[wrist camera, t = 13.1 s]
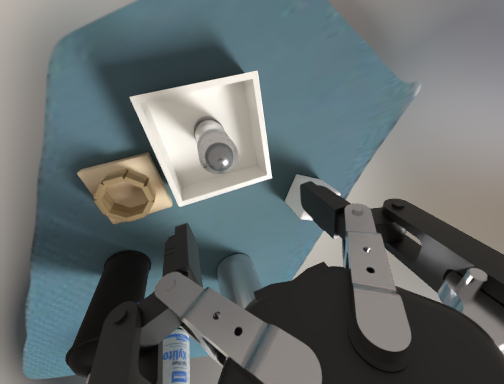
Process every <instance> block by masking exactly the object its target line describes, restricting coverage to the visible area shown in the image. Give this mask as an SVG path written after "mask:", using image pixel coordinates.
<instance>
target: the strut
mask: <svg viewBox="0 0 504 384" xmlns="http://www.w3.org/2000/svg"><path fill="white" fill-rule="evenodd" d="M194 136H195V140H196V144H197V149H198V155H199V161H200V163H201V165H202V167H203V168H204V169H205V170H206V171H208V172H210V173H212V174H224V173H227V172H229V171H230V170H232V169H233V168H234V166H235V165H236V163H237V160H238V150H237V147H236V146H235V144H234V143H233V141H232V140H231V139H230V137H229V136H228V135H227V133H226V132H225V130H224V128H223V127H222V125H221V124H220V122H219V121H218V120H217V119H215V118H213V117H209V116H206V117H202V118H200V119H199V120H198V121H197V122H196V123H195V126H194Z"/></svg>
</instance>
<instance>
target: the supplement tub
mask: <svg viewBox="0 0 504 384" xmlns="http://www.w3.org/2000/svg"><path fill="white" fill-rule="evenodd" d="M189 370H190V369H189V335H188V334H187V333H186V332H185V331H184V330H181V329H176V330H175V331H173V332H172V333H171V334H170V335H168V336H167V337H166V338H165V339H163V384H190V371H189Z"/></svg>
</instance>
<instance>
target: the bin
mask: <svg viewBox="0 0 504 384" xmlns="http://www.w3.org/2000/svg"><path fill="white" fill-rule="evenodd" d="M129 98H130V100H131V102H132V104H133V106H134V109H135V111H136V113H137V115H138V117H139V120H140V122H141V124H142V126H143V128H144V131H145V133H146V135H147V137H148V139H149V142H150V144H151V146H152V148H153V150H154V153H155V155H156V157H157V159H158V161H159V164H160V166H161V168H162V170H163V172H164V175H165V177H166V179H167V181H168V183H169V186H170V188H171V190H172V192H173V194H174V197H175V199H176V201H177V203H178V205H179V207H181V206H184V205H187V204H191V203H194V202H197V201H200V200H203V199H206V198H210V197H213V196H216V195H219V194H222V193H226V192H229V191H232V190H235V189H238V188H241V187H245V186H248V185H251V184H254V183H257V182H261V181H264V180H267V179H270V178H272V174H271V166H270V159H269V151H268V144H267V137H266V129H265V122H264V114H263V107H262V99H261V92H260V85H259V77H258V71H253V72H248V73H243V74H238V75H233V76H228V77H223V78H218V79H214V80H209V81H204V82H199V83H194V84H189V85H184V86H179V87H175V88H170V89H165V90H160V91H155V92H150V93H145V94H140V95H136V96H132V97H129ZM206 116H209V117H213V118H215V119H217V120H218V121H219V122H220V124H221V125H222V127H223V128H224V130H225V132H226V133H227V135H228V136H229V137H230V139H231V140H232V141H233V143H234V144H235V146H236V147H237V150H238V160H237V163H236V165H235V166H234V168H233V169H232V170H230V171H229V172H227V173H224V174H212V173H210V172H208V171H206V170H205V169H204V168H203V167H202V165H201V163H200V161H199V155H198V149H197V144H196V140H195V136H194V126H195V123H196V122H197V121H198V120H199V119H200V118H202V117H206Z"/></svg>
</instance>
